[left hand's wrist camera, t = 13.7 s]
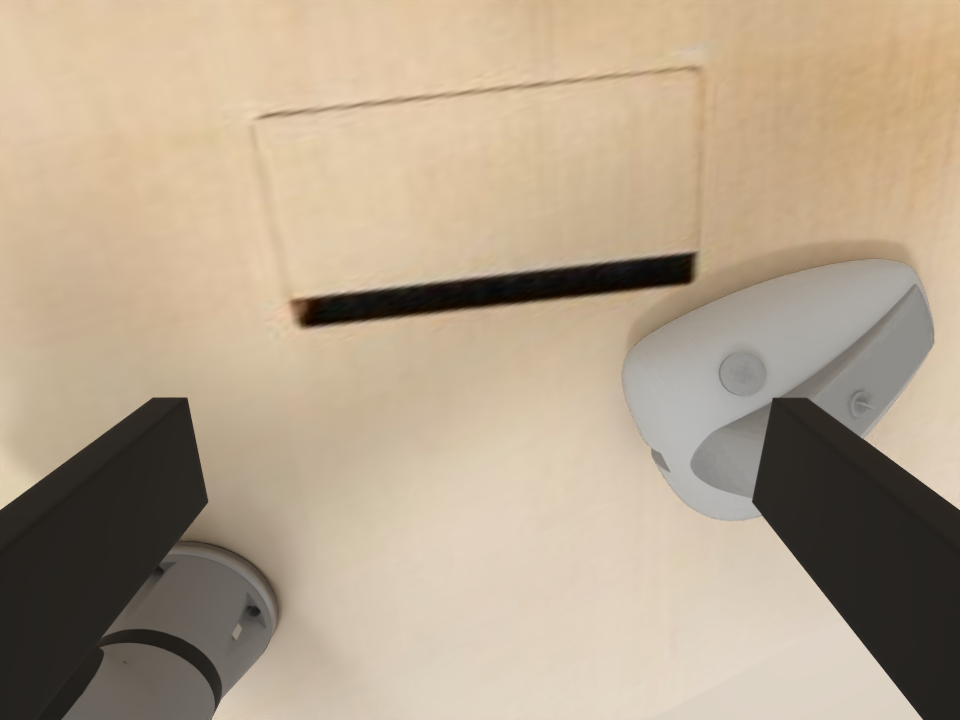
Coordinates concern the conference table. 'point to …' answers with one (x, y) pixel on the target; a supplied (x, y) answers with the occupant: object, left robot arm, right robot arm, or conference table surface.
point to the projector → (772, 371)
